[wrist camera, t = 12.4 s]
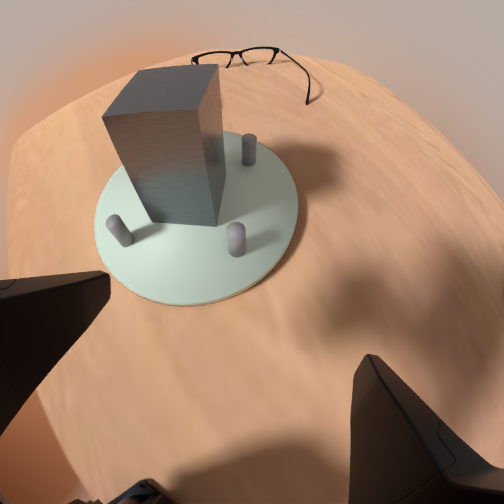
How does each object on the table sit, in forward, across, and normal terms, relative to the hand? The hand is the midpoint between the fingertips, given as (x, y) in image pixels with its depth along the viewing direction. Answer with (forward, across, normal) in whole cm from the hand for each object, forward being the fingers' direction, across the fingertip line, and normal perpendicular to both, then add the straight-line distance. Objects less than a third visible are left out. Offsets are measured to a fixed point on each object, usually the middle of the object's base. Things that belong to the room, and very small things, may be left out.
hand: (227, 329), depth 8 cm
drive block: (+17, +9, 0) cm, 19 cm away
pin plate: (+18, +9, 0) cm, 20 cm away
